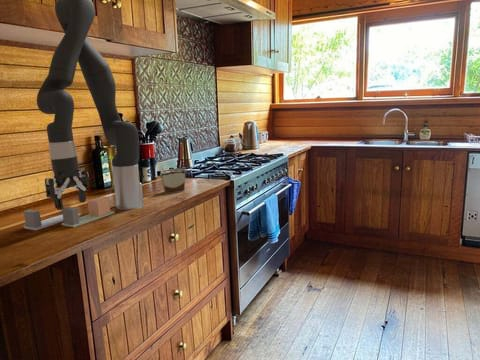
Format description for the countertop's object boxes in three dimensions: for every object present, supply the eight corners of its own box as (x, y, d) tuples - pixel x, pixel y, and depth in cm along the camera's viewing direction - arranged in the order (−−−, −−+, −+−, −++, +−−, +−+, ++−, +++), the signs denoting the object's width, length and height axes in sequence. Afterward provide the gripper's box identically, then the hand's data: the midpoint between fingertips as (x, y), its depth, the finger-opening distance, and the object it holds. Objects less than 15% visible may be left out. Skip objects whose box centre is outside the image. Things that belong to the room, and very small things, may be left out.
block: (100, 210, 133) (99, 197, 132) (110, 212, 130) (109, 198, 129) (89, 214, 129) (87, 200, 128) (99, 216, 126) (97, 202, 125)
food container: (182, 188, 175) (180, 167, 173) (187, 190, 170) (186, 169, 168) (157, 192, 168) (155, 170, 166) (162, 194, 163) (160, 172, 161)
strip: (70, 213, 133) (68, 198, 132) (81, 215, 130) (79, 200, 129) (23, 228, 118) (21, 211, 117) (35, 230, 115) (32, 213, 114)
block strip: (103, 211, 134) (101, 196, 133) (114, 213, 132) (113, 197, 131) (61, 225, 120) (59, 208, 119) (73, 227, 117) (71, 210, 116)
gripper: (74, 152, 123) (81, 199, 126) (34, 159, 111) (43, 211, 114) (90, 152, 119) (97, 200, 123) (51, 160, 107) (60, 213, 111)
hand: (71, 205), depth 119 cm, fingers open, 8 cm apart
